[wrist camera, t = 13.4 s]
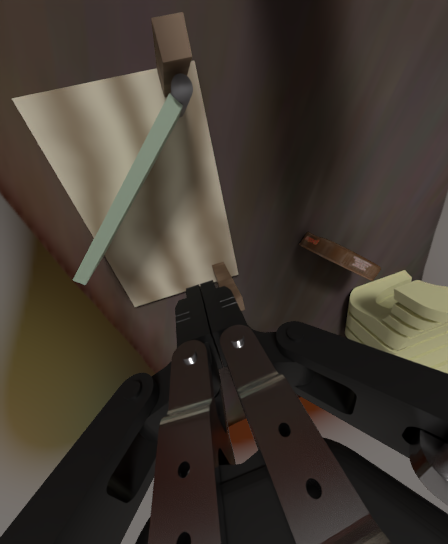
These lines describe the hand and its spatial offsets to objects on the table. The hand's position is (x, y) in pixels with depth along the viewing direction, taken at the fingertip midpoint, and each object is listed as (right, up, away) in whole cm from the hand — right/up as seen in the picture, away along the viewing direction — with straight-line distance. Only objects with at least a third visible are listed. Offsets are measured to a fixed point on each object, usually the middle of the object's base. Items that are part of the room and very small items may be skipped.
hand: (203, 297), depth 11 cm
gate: (-10, +12, +14) cm, 21 cm away
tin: (+20, +6, +27) cm, 34 cm away
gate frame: (-8, +10, +17) cm, 21 cm away
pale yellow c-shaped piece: (+36, -6, +38) cm, 53 cm away
